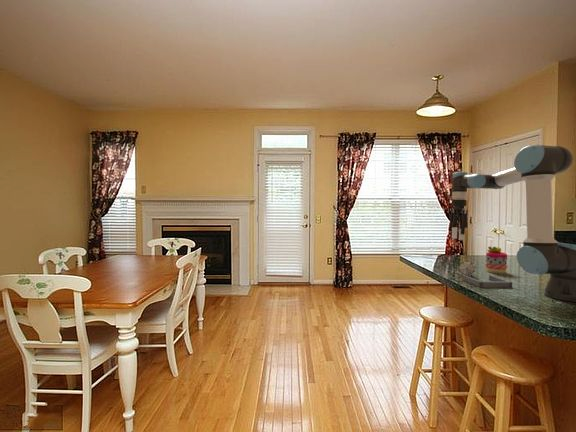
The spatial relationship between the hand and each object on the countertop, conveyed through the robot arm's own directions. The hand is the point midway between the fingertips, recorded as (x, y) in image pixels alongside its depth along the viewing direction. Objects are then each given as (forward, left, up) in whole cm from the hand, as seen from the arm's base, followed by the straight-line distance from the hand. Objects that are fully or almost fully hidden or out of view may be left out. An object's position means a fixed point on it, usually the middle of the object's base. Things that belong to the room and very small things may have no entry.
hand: (457, 239), depth 188 cm
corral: (-26, 0, -19) cm, 32 cm away
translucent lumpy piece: (-10, 0, -19) cm, 22 cm away
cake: (+1, -24, -19) cm, 31 cm away
